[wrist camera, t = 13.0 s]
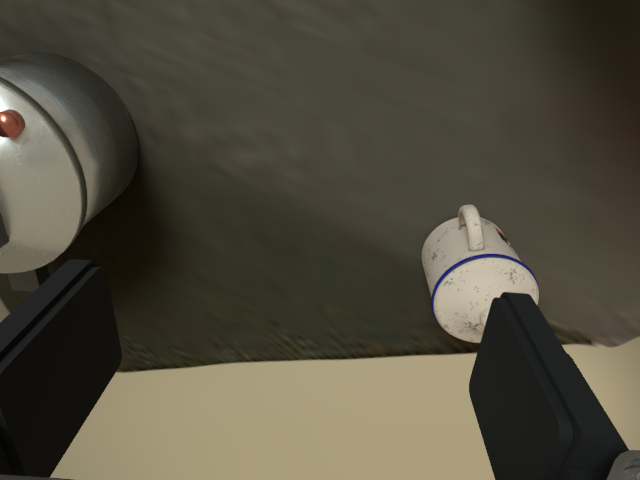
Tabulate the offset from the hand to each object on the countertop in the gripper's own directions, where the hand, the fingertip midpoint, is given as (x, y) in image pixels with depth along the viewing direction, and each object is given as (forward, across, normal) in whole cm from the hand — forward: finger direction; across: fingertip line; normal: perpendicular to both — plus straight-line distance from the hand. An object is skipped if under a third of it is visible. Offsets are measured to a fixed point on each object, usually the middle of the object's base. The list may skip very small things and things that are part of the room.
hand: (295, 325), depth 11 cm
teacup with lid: (+34, -14, +14) cm, 39 cm away
